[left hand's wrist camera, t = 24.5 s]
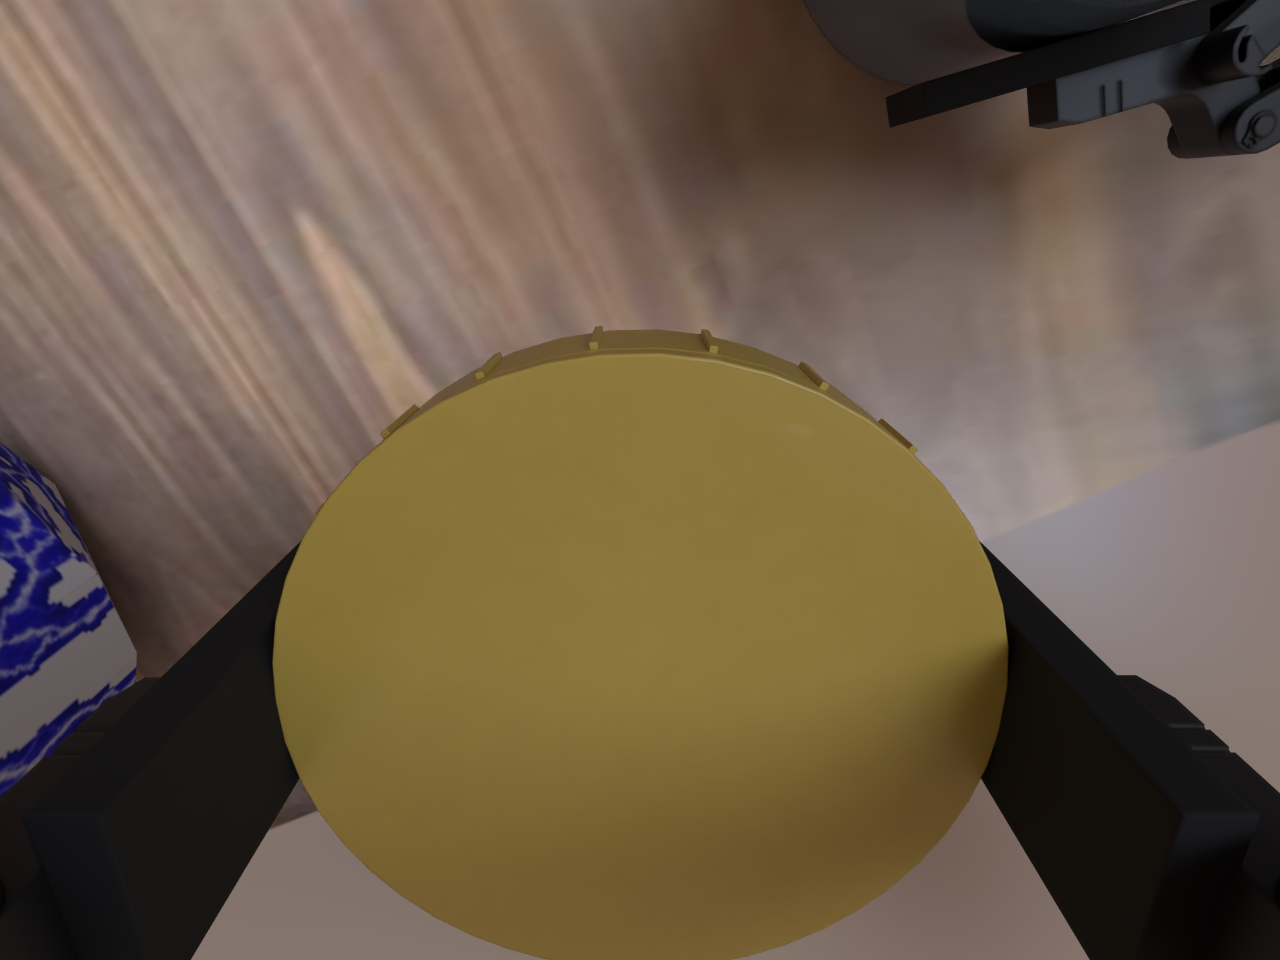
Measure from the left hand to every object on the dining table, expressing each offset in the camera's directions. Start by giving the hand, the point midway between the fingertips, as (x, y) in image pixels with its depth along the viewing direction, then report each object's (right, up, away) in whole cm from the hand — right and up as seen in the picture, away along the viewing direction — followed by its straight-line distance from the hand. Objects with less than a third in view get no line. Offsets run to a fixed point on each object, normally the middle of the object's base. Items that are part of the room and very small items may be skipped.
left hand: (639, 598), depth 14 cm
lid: (0, -1, -3) cm, 3 cm away
